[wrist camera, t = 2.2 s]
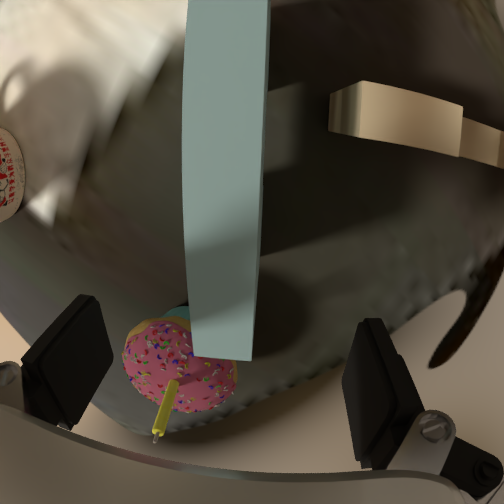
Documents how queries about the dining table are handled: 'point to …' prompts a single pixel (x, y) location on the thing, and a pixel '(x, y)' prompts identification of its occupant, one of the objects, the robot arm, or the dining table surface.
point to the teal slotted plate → (224, 169)
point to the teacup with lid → (10, 175)
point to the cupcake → (175, 368)
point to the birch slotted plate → (412, 122)
